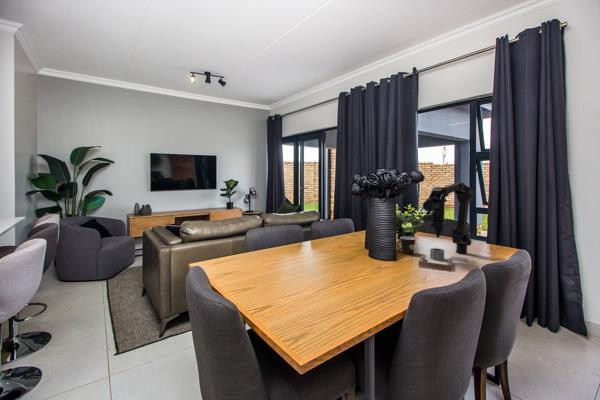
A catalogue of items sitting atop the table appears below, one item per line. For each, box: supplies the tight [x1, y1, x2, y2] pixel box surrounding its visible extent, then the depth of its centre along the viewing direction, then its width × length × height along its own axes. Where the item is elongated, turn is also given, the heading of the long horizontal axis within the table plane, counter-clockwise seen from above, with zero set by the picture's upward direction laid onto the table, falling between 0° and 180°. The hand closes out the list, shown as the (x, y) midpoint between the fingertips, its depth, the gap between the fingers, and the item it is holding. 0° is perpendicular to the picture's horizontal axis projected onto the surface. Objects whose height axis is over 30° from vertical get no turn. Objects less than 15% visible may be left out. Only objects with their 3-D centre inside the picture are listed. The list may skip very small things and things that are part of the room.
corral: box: [418, 254, 453, 273], centre depth 152 cm, size 15×15×3 cm
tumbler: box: [429, 247, 445, 262], centre depth 161 cm, size 7×7×6 cm
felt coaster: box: [450, 256, 469, 263], centre depth 161 cm, size 8×8×1 cm
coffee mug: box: [396, 236, 417, 256], centre depth 174 cm, size 12×9×10 cm
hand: (437, 237), depth 161 cm, fingers closed
